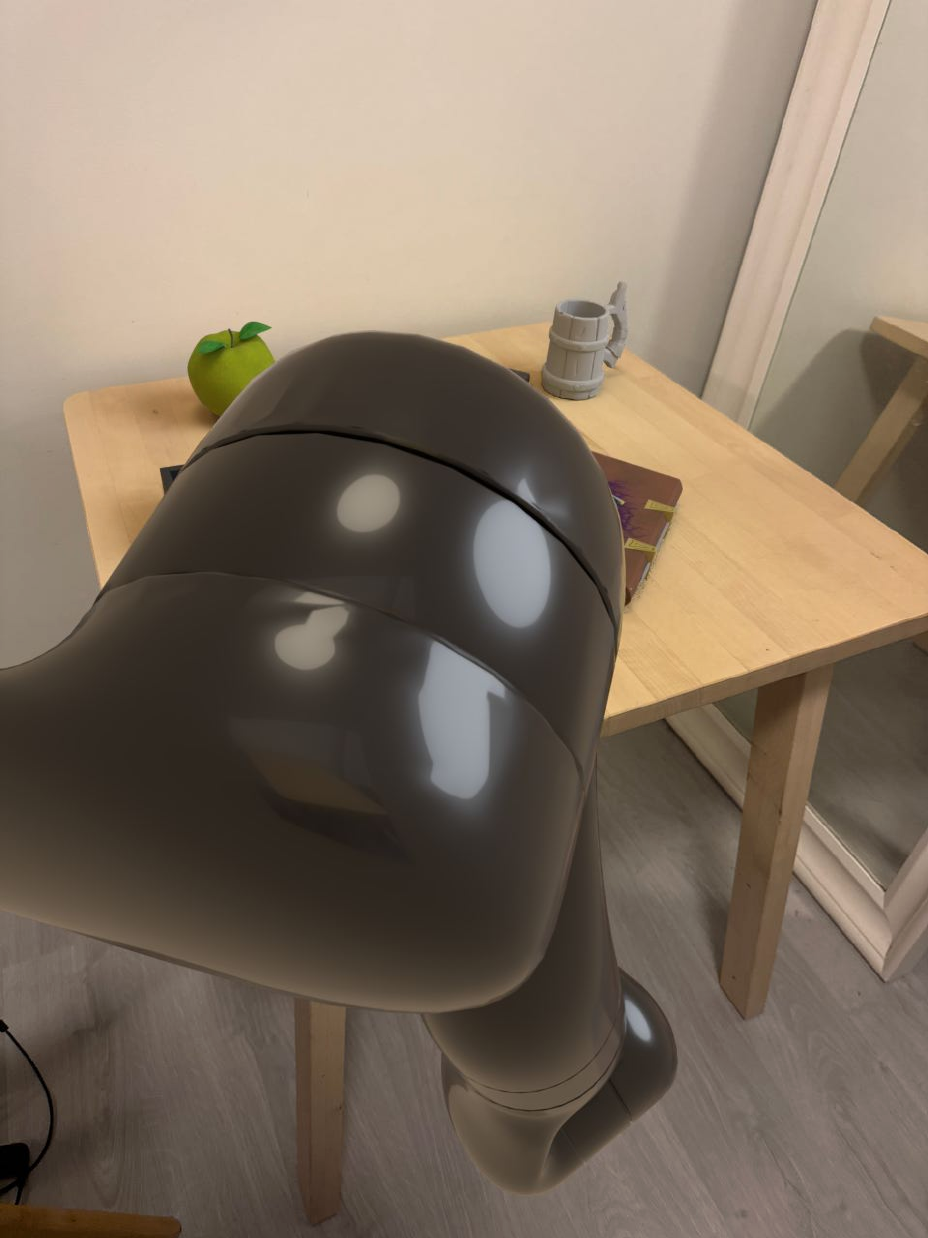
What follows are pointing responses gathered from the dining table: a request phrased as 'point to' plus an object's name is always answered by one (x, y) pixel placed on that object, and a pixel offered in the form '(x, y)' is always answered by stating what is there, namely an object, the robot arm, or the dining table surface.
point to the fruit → (227, 364)
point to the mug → (584, 345)
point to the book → (640, 513)
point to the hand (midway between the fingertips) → (264, 645)
